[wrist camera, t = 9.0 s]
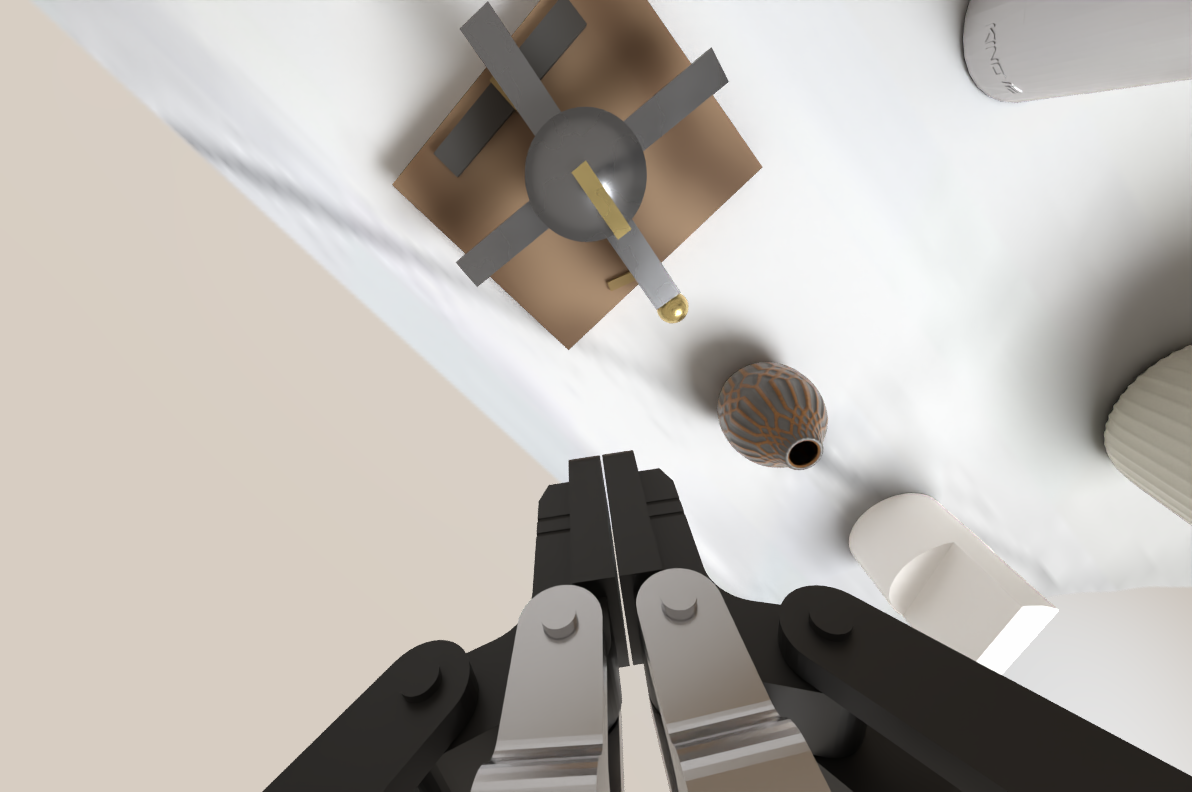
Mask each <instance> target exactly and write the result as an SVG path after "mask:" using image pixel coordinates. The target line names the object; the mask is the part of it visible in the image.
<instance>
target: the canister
mask: <svg viewBox="0 0 1192 792" xmlns="http://www.w3.org/2000/svg"><path fill="white" fill-rule="evenodd" d="M1105 427H1106V430H1105V432H1104V438H1105V440H1104V445H1105V447H1106V451H1107V454H1108V457H1109V458H1110V459H1111V461H1112V463H1113V464H1114V466H1115V467H1116V468H1117V469H1118V470H1119V471H1120V472H1121V473H1122V474H1123V475H1124V476H1125V477H1126V478H1128V479H1129V480H1130V481H1131V482H1132V483H1133V484H1135V485H1136V486H1137V487H1139V488H1140V489H1141V490H1143V491H1144V492H1146V493H1147V494H1148V495H1150V496H1151V497H1152V498H1154V499H1155V500H1157V501H1158V502H1159V503H1161V504H1162V505H1164V506H1165V507H1166V508H1168V509H1169V510H1171V511H1172V512H1173V513H1175V514H1176V515H1178V516H1179V517H1180V518H1182V519H1183V520H1185V521H1186V522H1187V523H1189V524H1190V525H1192V345H1189V346H1186V347H1184V348H1183V349H1182V350H1179V351H1175V352H1173V353H1171V354H1170V355H1169V356H1168V357H1166V358H1163V359H1160V360H1159V361H1158V362H1157V363H1156V364H1155V365H1154V366H1151V367H1149V368H1148V369H1147V370H1146V371H1145V372H1144V373H1143V374H1142V375H1140V376H1138V377H1137V379H1136V380H1135V381H1134V382H1133V383H1132V384H1131V385H1129V386H1128V388H1127V390H1126V391H1125V392H1124V393H1123V394H1121V395H1120V398H1119V400H1118V402H1117V403H1115V404H1114V408H1113V410H1112V412H1111V413H1110V414H1109V420H1108V421H1107V423H1106V424H1105Z"/></svg>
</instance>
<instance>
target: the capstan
mask: <svg viewBox="0 0 1192 792" xmlns="http://www.w3.org/2000/svg"><path fill="white" fill-rule="evenodd" d="M460 30H461V31H462V33H463V34H464V35H465V37H466V38H467V40H468V41H469V43H470V44H471V45H472V47H473V48H474V50H475V51H476V53H477V54H478V55H479V57H480V58H481V60H482V61H483V63H484V64H485V65H486V67H487V68H488V70H489V71H490V72H491V74H492V75H493V77H494V78H495V80H496V81H497V82H498V84H499V85H500V87H501V88H502V90H503V91H504V92H505V94H506V95H507V97H508V98H509V100H510V101H511V102H512V104H513V105H514V107H515V108H516V110H517V111H518V112H519V114H520V115H521V117H522V118H523V120H524V121H525V122H526V124H527V125H528V127H529V128H530V130H531V131H532V132H533V134H534V135H535V137H534V139H533V141H532V142H531V145H530V147H529V150H528V153H527V157H526V162H525V186H526V190H527V195H528V197H529V201H528V202H527V203H525V204H524V205H523V206H522V207H521V208H519V209H518V210H517V211H516V212H515V213H514V214H512V215H511V216H510V217H509V218H508V219H506V220H505V221H504V222H503V223H502V224H500V225H499V226H498V227H497V228H496V229H495V230H493V231H492V232H491V233H490V234H489V235H487V236H486V237H485V238H484V239H483V240H481V241H480V242H479V243H478V244H477V245H476V246H474V247H473V248H472V249H471V250H470V251H468V252H467V253H466V254H465V255H464V256H462V257H461V258H460V259H459V260H458V261H457V262H456V263H457V264H458V265H459V267H460V268H461V269H462V270H463V271H464V272H465V273H466V275H467V276H468V277H469V278H470V279H471V280H472V281H473V283H474V284H475V285H476V286H477V287H478V286H479V285H480V284H481V283H483V282H484V281H485V280H486V279H488V278H489V277H490V276H491V275H492V274H494V273H495V272H496V271H497V270H499V269H500V268H501V267H502V266H503V265H505V264H506V263H507V262H508V261H510V260H511V259H512V258H513V257H515V256H516V255H517V254H518V253H519V252H521V251H522V250H523V249H524V248H526V247H527V246H528V245H529V244H530V243H532V242H533V241H534V240H535V239H537V238H538V237H539V236H540V235H541V234H543V233H544V232H545V231H546V230H548V229H551V230H552V231H554V232H555V233H556V234H558V235H560V236H562V237H564V238H567V239H570V240H574V241H578V242H594V241H599V240H603V239H606V238H607V239H608V241H609V242H610V244H611V245H612V247H613V248H614V249H615V251H616V252H617V254H618V255H619V257H620V258H621V259H622V261H623V262H624V264H625V265H626V267H627V268H628V269H629V271H630V272H631V274H632V275H633V277H634V278H635V279H636V281H637V282H638V284H639V285H640V287H641V288H642V289H643V291H644V292H645V294H646V295H647V297H648V298H649V299H650V301H651V302H652V304H653V305H654V307H655V308H656V309H657V312H658V315H659V317H660V318H661V319H662V320H663V321H665V322H667V323H677V322H680V321H681V320H683V319H684V318H685V316H686V315H687V312H688V302H687V299H686V298H685V297H684V296H683V295H682V294H680V293H681V292H680V291H679V289H678V288H677V286H676V285H675V283H674V282H673V280H672V279H671V277H670V276H669V274H668V273H667V271H666V270H665V268H664V267H663V265H662V264H661V262H660V260H659V259H658V257H657V256H656V254H655V253H654V251H653V250H652V248H651V247H650V245H649V244H648V242H647V241H646V239H645V238H644V236H643V235H642V233H641V232H640V230H639V229H638V227H637V226H636V224H635V223H634V221H633V220H632V218H633V217H634V216H635V214H636V213H637V211H638V209H639V207H640V205H641V203H642V200H643V197H644V193H645V189H646V182H647V168H646V161H645V156H644V153H643V151H644V150H646V149H647V148H648V147H649V146H651V145H652V144H653V143H654V142H655V141H657V140H658V139H659V138H660V137H662V136H663V135H664V134H665V133H667V132H668V131H669V130H670V129H671V128H673V127H674V126H675V125H676V124H678V123H679V122H680V121H681V120H682V119H684V118H685V117H686V116H687V115H689V114H690V113H691V112H692V111H693V110H695V109H696V108H697V107H698V106H700V105H701V104H702V103H703V102H705V101H706V100H707V99H708V98H709V97H711V96H712V95H713V94H714V93H716V92H717V91H718V90H719V89H720V88H722V87H723V86H724V85H725V84H727V83H728V82H729V81H728V79H727V77H726V75H725V73H724V71H723V69H722V67H721V65H720V63H719V61H718V59H717V57H716V55H715V53H714V51H713V49H712V47H711V48H710V49H709V50H708V51H706V52H705V53H704V54H702V55H701V56H700V57H699V58H698V59H696V60H695V61H694V62H693V63H692V64H691V65H689V66H688V67H687V68H686V69H685V70H683V71H682V72H681V73H680V74H679V75H677V76H676V77H675V78H674V79H673V80H672V81H670V82H669V83H668V84H667V85H666V86H664V87H663V88H662V89H661V90H660V91H658V92H657V93H656V94H655V95H654V96H653V97H651V98H650V99H649V100H648V101H647V102H645V103H644V104H643V105H642V106H641V107H639V108H638V109H637V110H636V111H635V112H634V113H632V114H631V115H630V116H629V117H628V118H626V119H625V120H624V121H622V120H621V119H620V118H619V117H617V116H615V115H614V114H612V113H610V112H608V111H606V110H603V109H599V108H595V107H576V108H571V109H568V110H565V111H562V112H561V111H560V109H559V108H558V106H557V105H556V103H555V102H554V100H553V99H552V97H551V96H550V94H549V93H548V91H547V90H546V88H545V87H544V85H543V84H542V82H541V81H540V79H539V78H538V76H537V75H536V73H535V72H534V70H533V69H532V67H531V66H530V64H529V63H528V61H527V60H526V58H525V57H524V55H523V54H522V52H521V51H520V49H519V48H518V46H517V45H516V43H515V41H514V40H513V38H512V37H511V35H510V34H509V32H508V31H507V29H506V28H505V26H504V25H503V23H502V22H501V20H500V19H499V17H498V16H497V14H496V13H495V11H494V10H493V8H492V7H491V5H490V4H489V2H487V3H486V4H485V5H484V6H483V7H482V8H481V9H480V10H479V11H478V12H477V13H475V14H474V15H473V16H472V17H471V18H470V19H469V20H468V21H467V22H466V23H465V24H464V25H463V26H462V27H461V28H460Z"/></svg>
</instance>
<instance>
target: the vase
mask: <svg viewBox="0 0 1192 792" xmlns="http://www.w3.org/2000/svg"><path fill="white" fill-rule="evenodd" d="M717 412H718V419H719V423H720V426H721V429H722V431H723V433H724V435H725V437H726V439H727V440H728V441H729V443H730V444H731V445H732V447H733V448H734V449H735V450H736V451H737V452H739V453H740V454H741V455H742V456H744V457H745V458H747V459H749V460H750V461H752V462H754V463H757V464H759V465H762V466H767V467H774V468H782V467H789V468H791V469H795V470H804V469H807V468H810V467H812V466H813V465H815V464H816V463H817V462H818V461H819V460H820V458H821V456H822V454H823V440H824V437H825V434H826V431H827V424H828V417H827V410H826V407H825V404H824V401H823V399H822V397H821V395H820V393H819V391H818V390H817V388H816V387H815V386H814V384H813V383H812V382H811V381H810V380H809V379H808V378H806V377H805V376H804V375H802V374H801V373H800V372H798V371H796V370H795V369H793V368H791V367H788V366H786V365H782V364H778V363H772V362H761V363H754V364H751V365H748V366H745V367H743V368H741V369H740V370H738V371H737V372H735V373H734V374H733V375H732V376H731V377H730V378H729V379H728V380H727V381H726V383H725V384H724V386H723V388H722V390H721V392H720V395H719V399H718V406H717Z"/></svg>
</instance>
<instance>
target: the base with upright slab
mask: <svg viewBox="0 0 1192 792" xmlns="http://www.w3.org/2000/svg"><path fill="white" fill-rule="evenodd" d="M849 548H850V551H851V554H852V555H853V556H854V558H855V559H856V560H857V561H858V563H859V564H860V565H861V567H862V568H863V569H864V571H865V572H866V573H867V575H868V576H869V577H870V579H871V580H872V581H873V583H874V584H875V585H876V587H877V588H878V589H879V591H880V592H881V593H882V595H883V596H884V597H885V598H886V600H887V601H888V602H889V604H890V605H891V606H892V608H893V609H894V610H895V611H896V612H897V613H899V614H900V615H902V616H903V617H904V618H905V619H906V621H907V622H908V623H909V624H910V626H911V627H912V628H914V629H916V630H918V631H920V632H922V633H924V634H925V635H927V636H929V637H931V638H933V639H935V640H937V641H939V642H941V643H942V644H944V645H946V646H948V647H950V648H952V649H954V650H956V651H957V652H959V653H961V654H963V655H965V656H967V657H969V658H971V659H972V660H974V661H976V662H978V663H980V664H982V665H984V666H986V667H987V668H989V669H991V670H993V671H995V672H997V673H999V674H1001V675H1002V674H1003V673H1004V672H1005V670H1006V669H1007V668H1008V667H1009V666H1010V665H1011V664H1012V663H1013V661H1014V660H1015V659H1016V658H1017V657H1018V656H1019V655H1020V654H1021V653H1022V651H1023V650H1024V649H1025V648H1026V647H1027V646H1028V645H1029V644H1030V643H1031V641H1032V640H1033V639H1034V638H1035V637H1036V636H1037V635H1038V633H1039V632H1040V631H1041V630H1042V629H1043V628H1044V627H1045V625H1047V623H1048V622H1049V621H1050V620H1051V619H1052V618H1053V617H1054V616H1055V614H1056V613H1057V612H1058V611H1059V610H1058V609H1057V608H1056V607H1055V606H1054V605H1053V604H1051V603H1050V602H1049V601H1048V600H1047V599H1046V598H1045V597H1044V596H1042V595H1041V594H1040V593H1039V592H1038V591H1037V590H1036V589H1035V588H1033V587H1032V586H1031V585H1030V584H1029V583H1028V582H1027V581H1026V580H1024V579H1023V578H1022V577H1021V576H1020V575H1019V574H1018V573H1017V572H1015V571H1014V570H1013V569H1012V568H1011V567H1010V566H1009V565H1008V564H1006V563H1005V562H1004V561H1003V560H1002V559H1001V558H1000V557H998V556H997V555H996V554H995V553H994V552H993V550H992V549H991V548H990V547H989V546H988V545H986V544H985V543H984V542H983V541H982V540H981V539H980V538H979V537H977V536H976V535H975V534H974V533H973V532H972V531H971V530H969V529H968V528H967V527H966V526H965V525H964V524H963V523H962V522H960V521H959V520H958V519H957V518H956V517H955V516H954V515H953V514H951V513H950V512H949V511H948V510H947V509H946V508H945V507H943V506H942V505H941V504H940V503H939V502H938V501H936V500H935V499H933V498H932V497H930V496H928V495H924V494H920V493H905V494H900V495H895V496H892V497H890V498H887V499H885V500H882V501H880V502H879V503H877V504H875V505H874V506H872V507H871V508H869V509H868V510H867V511H866V512H865V513H864V514H863V515H862V516H860V518H859V519H858V520H857V522H856V523H855V525H854V526H853V528H852V531H851V533H850V536H849Z"/></svg>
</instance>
